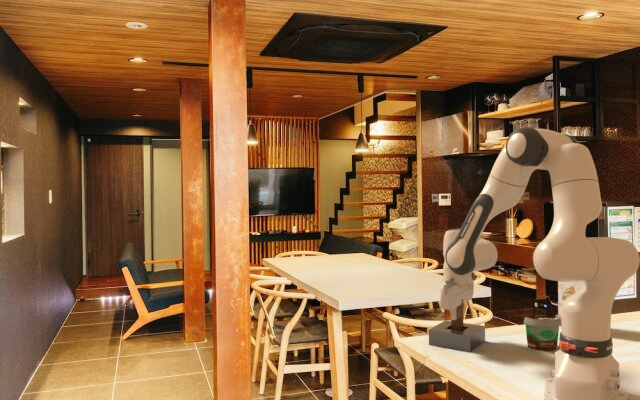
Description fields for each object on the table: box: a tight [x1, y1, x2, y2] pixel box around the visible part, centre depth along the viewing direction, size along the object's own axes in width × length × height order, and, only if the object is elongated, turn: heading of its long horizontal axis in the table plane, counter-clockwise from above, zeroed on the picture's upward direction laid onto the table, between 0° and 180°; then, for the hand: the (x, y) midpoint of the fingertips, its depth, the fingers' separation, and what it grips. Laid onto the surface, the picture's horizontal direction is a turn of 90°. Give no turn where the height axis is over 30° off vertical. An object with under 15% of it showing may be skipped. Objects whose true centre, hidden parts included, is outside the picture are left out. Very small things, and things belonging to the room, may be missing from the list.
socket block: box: [428, 319, 486, 353], centre depth 175 cm, size 14×14×5 cm
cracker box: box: [557, 281, 582, 326], centre depth 189 cm, size 14×6×21 cm, turn 18°
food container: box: [523, 314, 562, 352], centre depth 167 cm, size 12×6×10 cm, turn 102°
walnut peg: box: [450, 299, 464, 331], centre depth 175 cm, size 4×4×12 cm
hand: (457, 317), depth 175 cm, fingers closed on walnut peg, 4 cm apart
